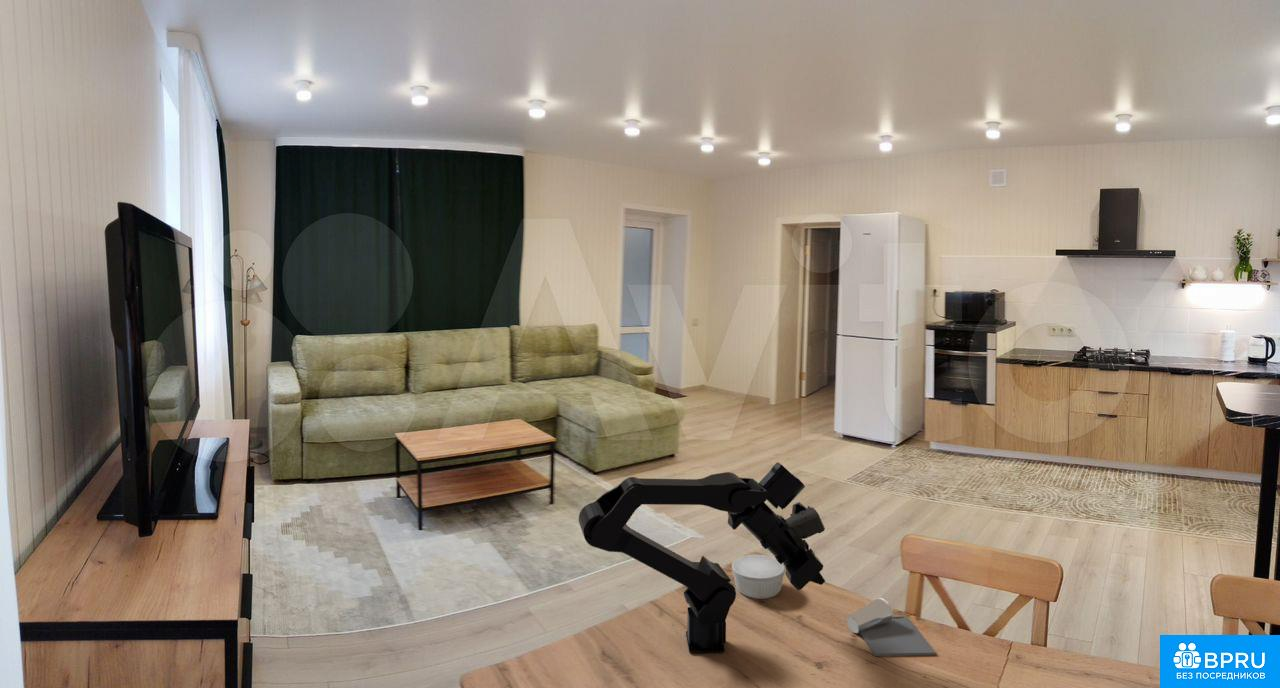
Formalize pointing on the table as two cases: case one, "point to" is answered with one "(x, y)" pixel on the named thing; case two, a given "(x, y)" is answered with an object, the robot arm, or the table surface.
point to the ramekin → (758, 576)
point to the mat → (897, 639)
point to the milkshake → (871, 616)
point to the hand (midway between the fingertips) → (822, 582)
